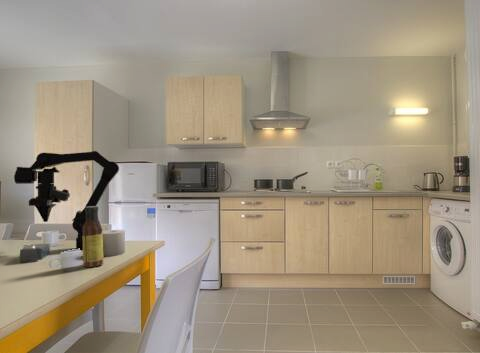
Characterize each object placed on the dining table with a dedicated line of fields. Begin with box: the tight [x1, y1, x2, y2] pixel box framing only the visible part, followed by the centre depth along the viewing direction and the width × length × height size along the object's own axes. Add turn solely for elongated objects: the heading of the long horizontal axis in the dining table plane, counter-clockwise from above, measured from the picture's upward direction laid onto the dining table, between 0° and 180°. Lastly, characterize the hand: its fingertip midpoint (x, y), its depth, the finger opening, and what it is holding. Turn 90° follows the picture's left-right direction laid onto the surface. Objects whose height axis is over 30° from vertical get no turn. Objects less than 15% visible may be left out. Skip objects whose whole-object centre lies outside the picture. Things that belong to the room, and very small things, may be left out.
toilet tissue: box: [102, 229, 126, 257], centre depth 119 cm, size 9×13×9 cm
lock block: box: [29, 243, 51, 261], centre depth 116 cm, size 6×9×4 cm
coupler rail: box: [19, 244, 39, 264], centre depth 115 cm, size 5×14×5 cm, turn 15°
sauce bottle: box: [82, 205, 104, 268], centre depth 104 cm, size 6×6×20 cm
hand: (45, 221), depth 126 cm, fingers closed
